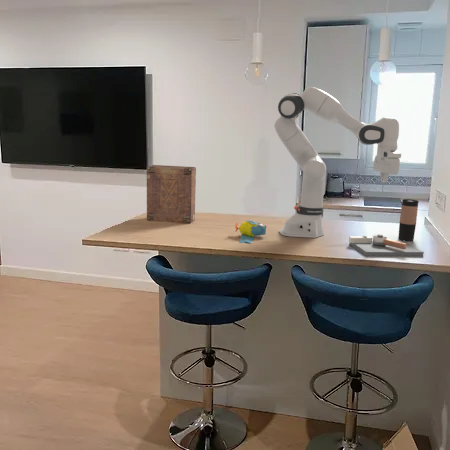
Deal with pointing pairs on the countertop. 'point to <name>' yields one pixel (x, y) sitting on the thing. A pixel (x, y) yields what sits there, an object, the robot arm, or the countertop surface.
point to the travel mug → (408, 220)
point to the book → (171, 193)
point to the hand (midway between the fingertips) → (383, 182)
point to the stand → (382, 248)
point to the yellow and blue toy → (250, 231)
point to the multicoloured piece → (387, 242)
